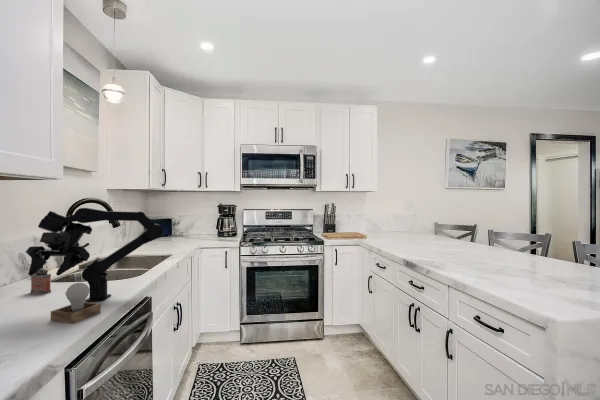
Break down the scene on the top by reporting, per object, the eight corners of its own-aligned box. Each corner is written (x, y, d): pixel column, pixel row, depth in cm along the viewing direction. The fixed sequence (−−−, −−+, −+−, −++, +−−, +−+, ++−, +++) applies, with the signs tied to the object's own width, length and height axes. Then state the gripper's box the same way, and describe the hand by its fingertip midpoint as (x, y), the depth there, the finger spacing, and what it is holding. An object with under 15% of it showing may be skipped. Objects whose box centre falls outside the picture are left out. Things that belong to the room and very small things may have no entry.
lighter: (53, 291, 121) (53, 267, 121) (45, 294, 117) (45, 269, 117) (36, 291, 121) (36, 267, 121) (27, 293, 118) (28, 269, 118)
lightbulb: (63, 317, 94) (63, 283, 94) (85, 311, 98) (86, 279, 98) (68, 321, 90) (68, 286, 90) (91, 315, 95) (92, 282, 95)
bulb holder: (79, 310, 99) (79, 301, 99) (100, 312, 97) (100, 303, 97) (50, 320, 90) (50, 311, 91) (73, 323, 88) (73, 314, 88)
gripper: (30, 223, 100) (-3, 261, 89) (83, 223, 100) (56, 261, 89) (50, 242, 108) (21, 279, 97) (99, 242, 108) (76, 279, 97)
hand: (43, 274), depth 95 cm, fingers open, 9 cm apart
